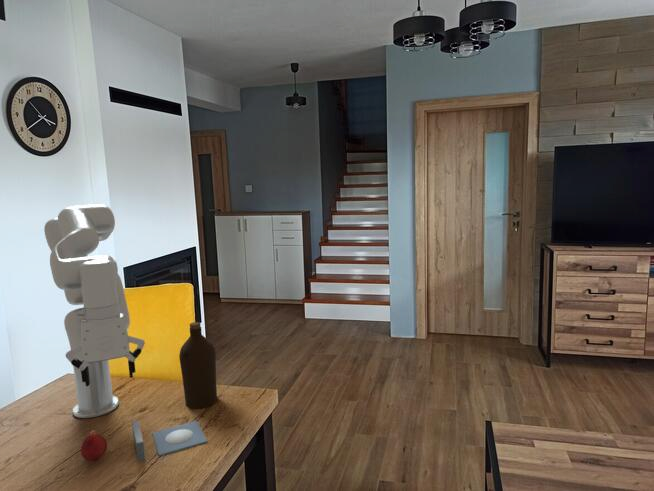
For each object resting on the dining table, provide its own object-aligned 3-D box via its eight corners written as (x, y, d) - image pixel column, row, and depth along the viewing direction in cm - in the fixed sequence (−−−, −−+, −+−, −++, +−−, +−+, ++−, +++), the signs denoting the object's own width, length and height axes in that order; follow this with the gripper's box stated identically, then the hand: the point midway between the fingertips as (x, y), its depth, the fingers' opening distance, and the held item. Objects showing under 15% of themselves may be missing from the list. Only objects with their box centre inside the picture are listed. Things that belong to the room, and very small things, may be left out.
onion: (98, 470, 111) (94, 438, 110) (77, 467, 112) (73, 437, 111) (113, 455, 117) (110, 426, 116) (93, 453, 118) (90, 424, 117)
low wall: (133, 439, 124) (131, 421, 123) (139, 437, 125) (137, 420, 124) (138, 462, 114) (136, 443, 113) (145, 460, 114) (143, 441, 113)
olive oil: (216, 408, 139) (210, 327, 136) (180, 411, 138) (172, 330, 135) (221, 392, 150) (215, 317, 146) (187, 395, 149) (180, 319, 145)
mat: (152, 434, 126) (152, 432, 126) (197, 421, 132) (197, 420, 132) (159, 456, 116) (158, 454, 116) (207, 442, 121) (207, 440, 121)
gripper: (58, 321, 104) (68, 394, 107) (141, 310, 111) (148, 378, 113) (62, 313, 111) (71, 381, 113) (140, 303, 118) (147, 367, 120)
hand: (110, 379), depth 113 cm, fingers open, 9 cm apart
